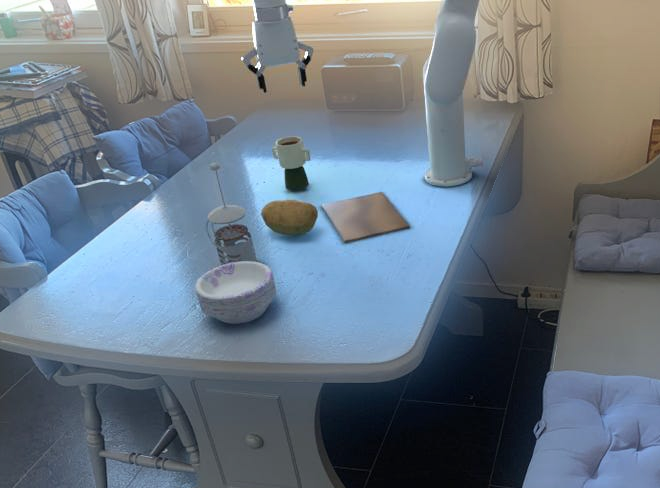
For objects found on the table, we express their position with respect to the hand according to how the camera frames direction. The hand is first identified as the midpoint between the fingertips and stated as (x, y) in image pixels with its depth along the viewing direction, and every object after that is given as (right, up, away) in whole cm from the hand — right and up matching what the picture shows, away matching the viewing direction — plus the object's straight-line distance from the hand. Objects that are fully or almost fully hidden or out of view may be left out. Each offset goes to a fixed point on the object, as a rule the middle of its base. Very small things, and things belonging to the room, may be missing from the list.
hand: (283, 88), depth 187 cm
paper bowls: (-2, -57, -32) cm, 66 cm away
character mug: (+1, -21, +16) cm, 27 cm away
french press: (-6, -47, -18) cm, 51 cm away
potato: (+3, -37, -5) cm, 37 cm away
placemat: (+20, -32, -1) cm, 38 cm away
